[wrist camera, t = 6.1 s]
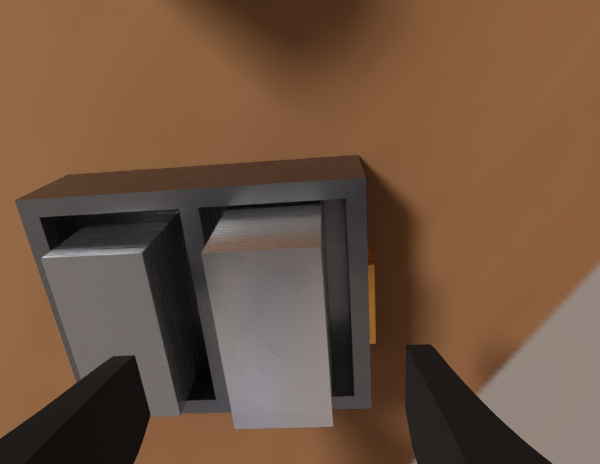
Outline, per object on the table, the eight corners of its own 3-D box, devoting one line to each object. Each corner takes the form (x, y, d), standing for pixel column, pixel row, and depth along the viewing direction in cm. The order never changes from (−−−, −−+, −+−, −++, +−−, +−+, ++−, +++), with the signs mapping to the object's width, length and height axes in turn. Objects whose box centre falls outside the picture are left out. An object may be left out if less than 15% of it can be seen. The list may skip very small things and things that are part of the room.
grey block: (330, 326, 18) (333, 426, 13) (256, 329, 18) (234, 429, 13) (321, 184, 15) (320, 247, 11) (236, 189, 16) (201, 253, 11)
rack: (369, 355, 19) (382, 442, 15) (121, 364, 20) (67, 448, 16) (363, 154, 16) (379, 192, 11) (66, 175, 16) (-21, 217, 12)
